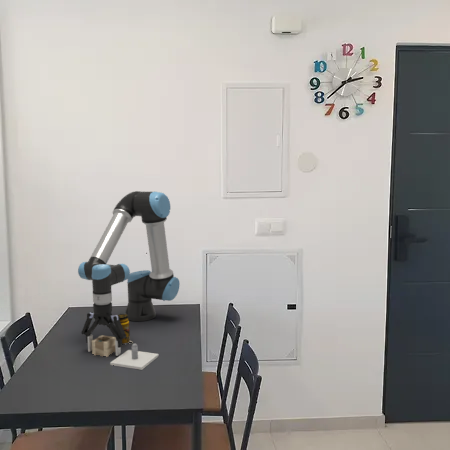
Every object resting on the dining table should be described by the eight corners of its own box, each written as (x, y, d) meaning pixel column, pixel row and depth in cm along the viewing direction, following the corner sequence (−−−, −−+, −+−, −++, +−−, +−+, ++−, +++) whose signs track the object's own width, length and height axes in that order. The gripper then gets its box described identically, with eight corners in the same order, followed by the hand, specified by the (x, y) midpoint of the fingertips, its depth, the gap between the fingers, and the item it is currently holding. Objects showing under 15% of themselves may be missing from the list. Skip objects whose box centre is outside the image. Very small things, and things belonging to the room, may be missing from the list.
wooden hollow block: (101, 348, 223) (101, 334, 222) (116, 350, 220) (115, 336, 219) (92, 354, 216) (91, 340, 215) (107, 357, 214) (106, 342, 213)
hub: (128, 352, 219) (127, 335, 218) (158, 356, 214) (158, 339, 213) (110, 365, 206) (109, 347, 205) (142, 369, 201) (141, 352, 200)
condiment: (133, 342, 230) (132, 316, 228) (114, 346, 225) (113, 319, 223) (126, 337, 236) (125, 312, 234) (108, 341, 231) (107, 315, 229)
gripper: (71, 302, 216) (73, 352, 219) (124, 308, 207) (125, 359, 210) (82, 297, 223) (84, 345, 226) (133, 302, 214) (135, 353, 217)
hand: (104, 352), depth 218 cm, fingers open, 12 cm apart
